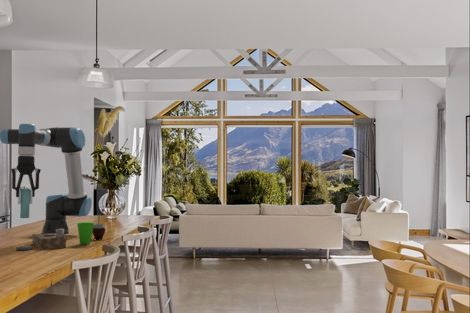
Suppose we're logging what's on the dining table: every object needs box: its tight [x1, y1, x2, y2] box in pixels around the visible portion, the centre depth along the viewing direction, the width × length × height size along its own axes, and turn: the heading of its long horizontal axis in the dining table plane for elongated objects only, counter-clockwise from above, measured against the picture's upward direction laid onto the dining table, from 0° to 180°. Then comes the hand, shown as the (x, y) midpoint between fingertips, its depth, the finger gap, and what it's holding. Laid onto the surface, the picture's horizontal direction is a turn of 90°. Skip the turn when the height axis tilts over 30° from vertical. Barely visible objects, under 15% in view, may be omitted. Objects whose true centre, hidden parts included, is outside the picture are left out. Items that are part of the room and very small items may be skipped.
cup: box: [76, 221, 96, 245], centre depth 283 cm, size 9×9×11 cm
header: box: [31, 229, 67, 250], centre depth 275 cm, size 12×20×9 cm, turn 32°
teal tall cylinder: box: [19, 188, 32, 219], centre depth 261 cm, size 5×5×14 cm
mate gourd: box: [92, 213, 106, 240], centre depth 302 cm, size 8×8×15 cm
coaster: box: [15, 246, 33, 252], centre depth 261 cm, size 7×7×1 cm
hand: (25, 203), depth 262 cm, fingers closed on teal tall cylinder, 5 cm apart
